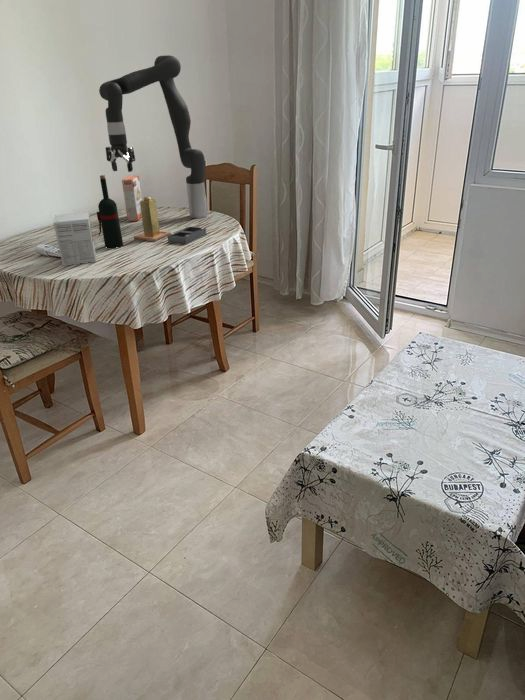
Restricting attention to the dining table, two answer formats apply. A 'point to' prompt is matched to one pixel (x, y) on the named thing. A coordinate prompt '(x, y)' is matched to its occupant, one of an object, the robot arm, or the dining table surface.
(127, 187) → the cracker box
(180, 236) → the grey tray with studs
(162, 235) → the terracotta dish
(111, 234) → the wine bottle
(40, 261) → the dining table surface
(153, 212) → the tan tall block
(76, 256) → the supplement box
